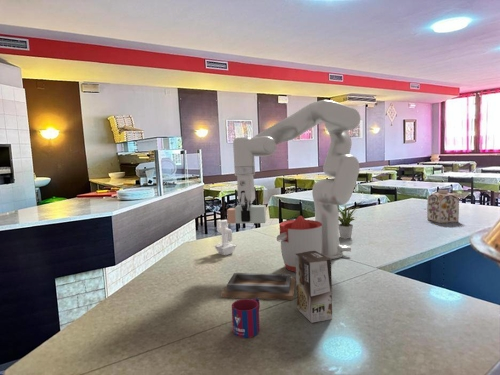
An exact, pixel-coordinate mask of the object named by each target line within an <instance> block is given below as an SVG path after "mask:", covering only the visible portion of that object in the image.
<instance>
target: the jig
mask: <svg viewBox="0 0 500 375" xmlns="http://www.w3.org/2000/svg"><path fill="white" fill-rule="evenodd" d="M295 287H296V277H292V274H291V273H288V274H287V273H254V272H253V273H250V272H234V273H233V274H232V276H231V277H230V279H229V280H228V281H227V284H226V286H225V287H224V289H223V290H222V292H221V298H235V299H236V298H238V299H239V298H240V299H253V298H258V299H260V300H261V299H267V300H289V301H290V300H291V301H292V300H294V297H295V289H296V288H295Z"/></svg>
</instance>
